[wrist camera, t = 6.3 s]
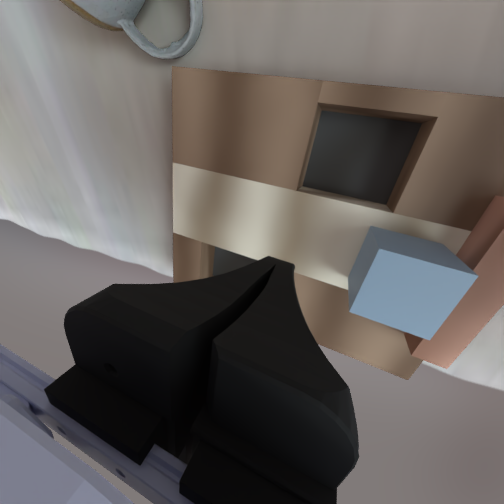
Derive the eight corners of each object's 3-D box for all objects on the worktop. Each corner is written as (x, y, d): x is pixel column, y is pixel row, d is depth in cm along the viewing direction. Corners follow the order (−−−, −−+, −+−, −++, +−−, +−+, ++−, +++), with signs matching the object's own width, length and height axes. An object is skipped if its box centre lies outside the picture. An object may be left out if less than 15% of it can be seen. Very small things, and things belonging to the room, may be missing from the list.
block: (442, 243, 13) (479, 275, 9) (409, 297, 15) (429, 340, 11) (370, 225, 14) (379, 248, 10) (347, 277, 16) (349, 311, 12)
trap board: (557, 119, 11) (684, 97, 7) (399, 350, 20) (415, 405, 15) (197, 79, 17) (148, 54, 13) (190, 272, 25) (159, 296, 21)
